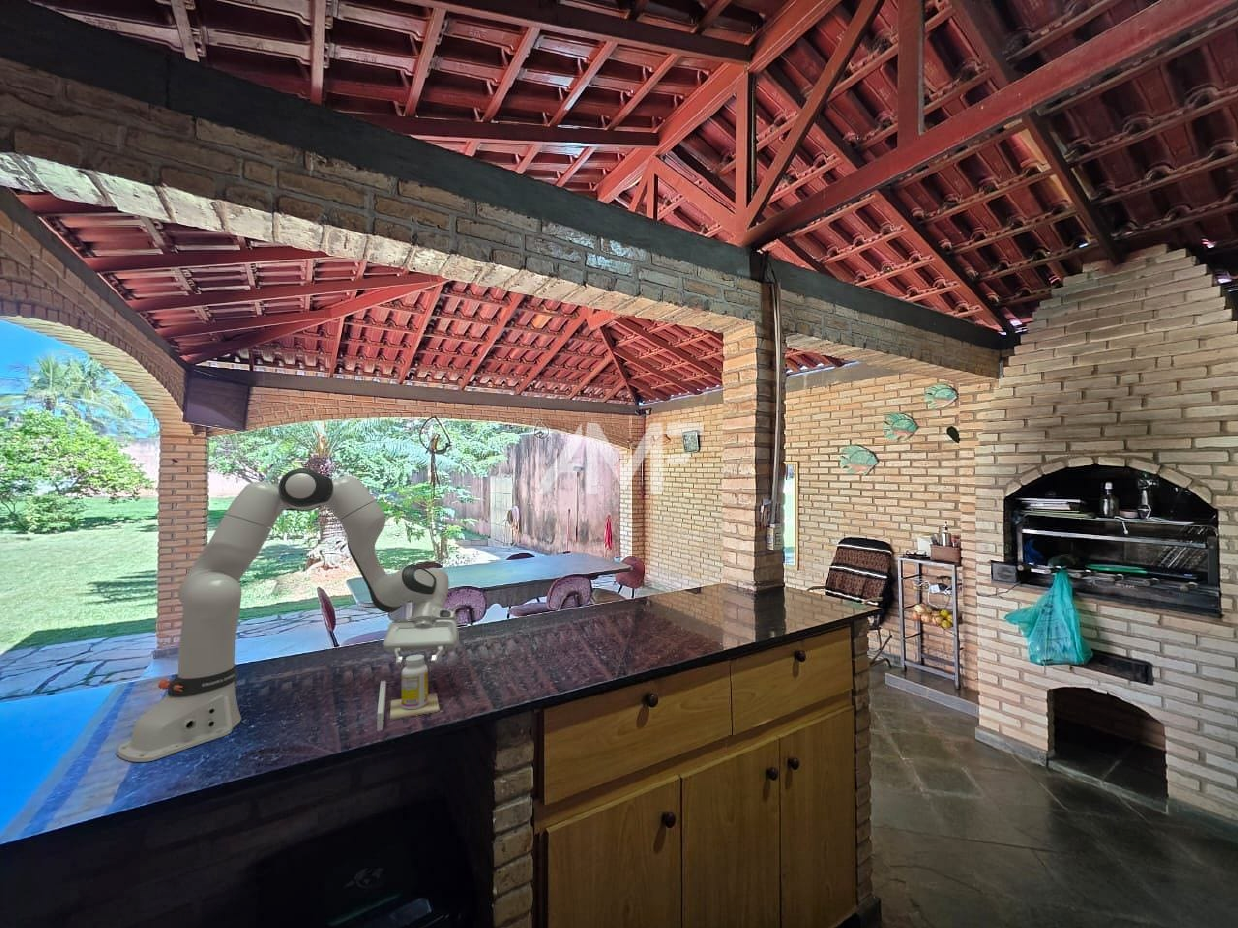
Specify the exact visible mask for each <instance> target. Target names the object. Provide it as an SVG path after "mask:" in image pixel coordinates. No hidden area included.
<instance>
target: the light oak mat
mask: <svg viewBox="0 0 1238 928" xmlns="http://www.w3.org/2000/svg"><path fill="white" fill-rule="evenodd" d="M440 710H441V709H440V703H439V699H438V692H434V693H428V701H427V703H426V705H424V706H423V707H420V708H417V709H412V710H409V709H404V708H403V707H402V698H398V699H397V698H396V699H392V700H390V710H389V711H390V713H389V721H390V720H394V719H400V718H405V717H411V716H416V717H419V716H418V715H422V714H427V715H430V714H429V713H433V714H435V713H434V712H438V711H440ZM440 712H441V711H440ZM438 713H439V712H438ZM422 716H423V715H422ZM411 718H412V717H411ZM405 719H406V718H405ZM400 720H401V719H400Z"/></svg>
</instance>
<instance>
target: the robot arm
mask: <svg viewBox="0 0 1238 928" xmlns="http://www.w3.org/2000/svg"><path fill="white" fill-rule="evenodd" d="M321 506H323V507H326V508H327V509H329V510H330V511H331V512H332V513H333V514H334V515H335V517H336V518H337V520H338V522H339V523H340V524H341V525H342V528H343V530H344V532H345V534H346V537H347V548H348V551H349V553H350V556H351V558H352V560H353V562H354V563H355V565H356V567H357V569H358V571H359V573H360V575H361V577H362V579H363V581H364V583H365V584H366V586H367V589H368V592H369V595H370V599H371V601H372V603H373V605H374V607H375V608H377V609H378V610H380V611H382V612H384V613H394V612H395V611H398V610H399V609H400V608H402V607H403V606H404V605H406V604H408V603H409V602H412V603H413V610H412V613H411V617H410V618H407V619H406V618H405V619H395V620H393V621H391V622H390V623H389V624H388V627H387V633H386V634H385V638H384V639H383V642H382V646H383V648H384V650H385V651H386V652H387V653H391V652H393V653H394V654H395V657H396V659H395V665H396V666H397V667H398V666H403V663H404V660H405V659H404V657H403V656H401V655H402V653H403V652H415V651H417V652H418V651H437V652H436V654H435V655H431V660H430V661H431V664H432V665H437V664H438V663H439V659H440V658H441V656H442V655H444V653H445V650H456V648H457V647H458V646H459V641H460V638H459V637H460V632H459V628H458V623H459V622H458V617H457V614H456V612H455V611H452V610H449V609H445V603H446V601H447V598H448V593H449V583H450V582H449V576H448V574H447V572H446V571H445V570H443V569H442V568H438V567H430V568H424V567H423V566H421V565H418V564H415V563H414V564H411V563H410V564H409V565H407V566H406V565H405V566H403V568H401V569H398V570H397V571H395V572H394V573H392V574H391V575H387V573H386V571H385V570H384V568H383V566H382V564H381V562H380V560H379V558H378V556H377V554H376V543H377V541H378V539H379V537H380V535H381V534H382V532H383V530H384V527H385V523H386V515H385V512H384V511H383V509H382V507H381V506H380V504H379V503H378V501H377V500H376V499H375V497H374V496H373V494H372V493H370V491H369V489H367V488H366V486H365V485H364V484H362V482H360V480H358V479H357V478H356V477H354V476H351V475H345V476H344V475H343V476H340V477H337V478H335V479H333V480H332V478H330V477H328V476H326V475H323V474H322V473H320V472H318V471H316V470H314V469H312V468H311V469H310V468H304V467H299V468H298V467H297V468H295V469H294V468H293V469H291V470H289V471H287V472H286V473H285V474H284V475H283V476H282V477H281V478H280V481H279V483H276V484H275V483H269V482H266V481H253V482H250V483H248V484H246V485H245V486H244V487H243V488H242V489H241V491H240V492H238V494H237V496H236V497H235V498H234V500H233V501H232V502H231V504H230V506H229V507H228V508H227V510H226V512H225V513H224V515H223V516H222V519H221V520H220V523H219V524H218V525H217V527H216V529H215V530H214V533H213V534H212V536H211V537H210V540H209V541H208V542H207V544H206V546H205V547H204V549H203V550H202V552H201V553H200V554H199V555H198V557H197V558H196V560H195V562H194V563H193V565H192V566H191V568H190V569H189V571H188V572H187V573H186V575H185V576H184V579H182V581H181V583H180V584H179V586H178V590H177V597H178V600H179V602H180V604H181V605H182V606H181V607H182V617H181V626H180V636H179V641H178V653H177V654H178V655H177V656H178V657H177V674H176V675H175V677H174V678H173V679H172V680H167V679H162V680H160V681H159V683H158V684H157V688H159V690H160V689H161V690H162V691H163V690H167V694H166V695H165V696H163V698H162V699H160V700H159V701H158V702H157V703H156V704H155V705H153V706H152V707H151V708H150V709H148V711H147V712H146V711H145V713H144V714H142V716H140V717H139V718H138V719H137V720H136V722H135V724H134V726H133V729H132V734H131V738H130V740H127V741H126V742H123V743H121V744H120V745H118V747H117V751H116V755H117V756H118V757H119V758H121V759H123V760H125V761H129V762H135V763H136V762H137V763H139V762H140V763H143V762H145V763H146V762H151V761H155V760H158V759H161V758H164V757H167V756H170V755H173V754H176V753H178V752H181V751H184V750H187V749H190V748H193V747H195V746H199V745H201V744H205V743H207V742H210V741H213V740H216V739H219V738H222V737H225V736H227V735H229V734H231V733H232V732H233V729H234V728H235V727H236V726H237V725H238V724H240V722H241V720H242V717H241V714H240V710H239V707H238V702H237V697H236V696H237V695H236V685H237V681H238V680H237V677H238V669H237V664H236V637H237V628H238V623H239V617H240V611H241V610H240V609H241V601H242V600H241V599H242V588H241V585H240V583H239V581H240V580H241V578H242V576H244V573H246V571H247V569H248V568H249V567H250V566H251V564H252V563H253V561H254V560H255V559H256V558H257V557H258V556H259V554H260V552H261V550H262V548H263V546H264V545H265V543H266V540H267V539H268V537H269V535H270V533H271V531H272V529H273V527H274V525H275V523H276V521H277V519H278V518H279V516H281V514H282V513H283V512H284V511H294V512H295V511H296V512H310V511H313V510H316V509H318V508H320V507H321Z"/></svg>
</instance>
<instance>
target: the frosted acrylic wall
mask: <svg viewBox="0 0 1238 928" xmlns="http://www.w3.org/2000/svg"><path fill="white" fill-rule="evenodd" d="M386 681H387V680H381V681H380V689H379V698H378V705H377V722H376V723H377V724H376V725H377V726H376V728H377V729H376V730H377V731H380V730H384V721H383V720H384V718H385V708H386V707H385V705H386V704H385V703H386V693H387V692H386V686H387V685H386ZM377 731H376V732H377Z"/></svg>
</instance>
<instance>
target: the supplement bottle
mask: <svg viewBox="0 0 1238 928" xmlns="http://www.w3.org/2000/svg"><path fill="white" fill-rule="evenodd" d="M424 661H425V655H423V654H413V655H409V656H406V657H405V665H406V666H405V667H404V668H403V669H402V670H401V699H402V707H403V708H404V709H409V710H412V709H417V708H420V707H423V706H424V705H426V703H427V701H428V694H429V682H428V681H429V678H428V677H429V674H428V673H429V668H428V665H426V664H424Z"/></svg>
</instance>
